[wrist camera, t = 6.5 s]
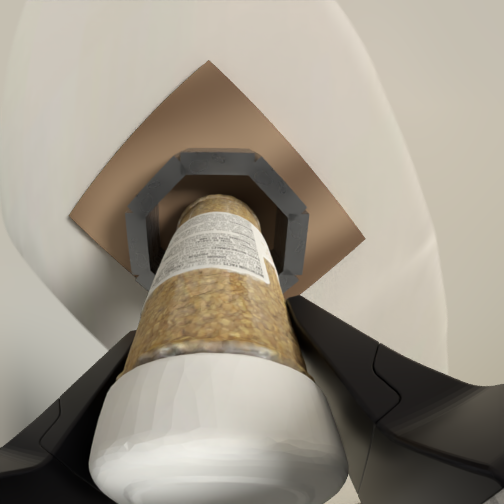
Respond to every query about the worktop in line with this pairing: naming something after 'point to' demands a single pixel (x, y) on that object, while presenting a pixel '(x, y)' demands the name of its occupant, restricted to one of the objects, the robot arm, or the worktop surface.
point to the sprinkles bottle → (217, 381)
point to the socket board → (196, 186)
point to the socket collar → (217, 163)
